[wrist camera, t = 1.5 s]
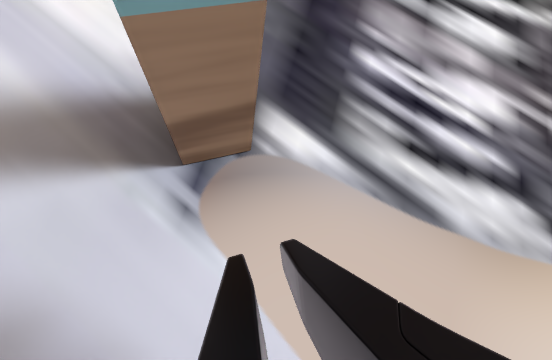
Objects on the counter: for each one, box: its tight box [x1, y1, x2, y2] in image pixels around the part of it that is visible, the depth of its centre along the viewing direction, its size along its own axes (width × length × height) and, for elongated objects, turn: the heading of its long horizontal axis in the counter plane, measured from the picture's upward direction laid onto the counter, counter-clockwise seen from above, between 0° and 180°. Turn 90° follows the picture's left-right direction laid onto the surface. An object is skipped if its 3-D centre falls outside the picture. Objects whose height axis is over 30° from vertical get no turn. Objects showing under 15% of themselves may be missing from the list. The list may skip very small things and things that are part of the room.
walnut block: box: [113, 0, 267, 165], centre depth 17 cm, size 5×5×14 cm
